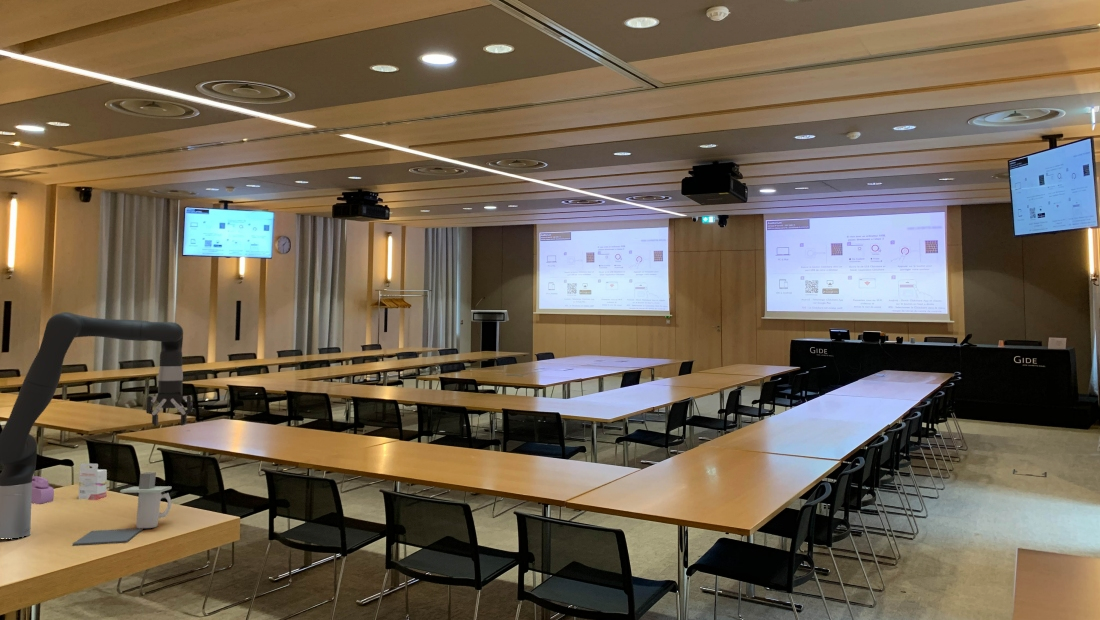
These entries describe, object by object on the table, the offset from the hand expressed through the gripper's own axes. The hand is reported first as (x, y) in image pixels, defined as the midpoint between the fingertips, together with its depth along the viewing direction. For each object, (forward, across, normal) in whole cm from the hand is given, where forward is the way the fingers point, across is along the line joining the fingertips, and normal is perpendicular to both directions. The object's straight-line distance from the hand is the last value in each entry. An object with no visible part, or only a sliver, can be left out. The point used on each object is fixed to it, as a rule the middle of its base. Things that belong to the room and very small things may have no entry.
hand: (169, 425), depth 246 cm
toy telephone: (+33, -60, +44) cm, 82 cm away
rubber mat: (+33, -12, -18) cm, 39 cm away
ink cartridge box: (+33, -38, +42) cm, 66 cm away
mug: (+33, -2, -8) cm, 34 cm away
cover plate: (+21, -4, -8) cm, 23 cm away
